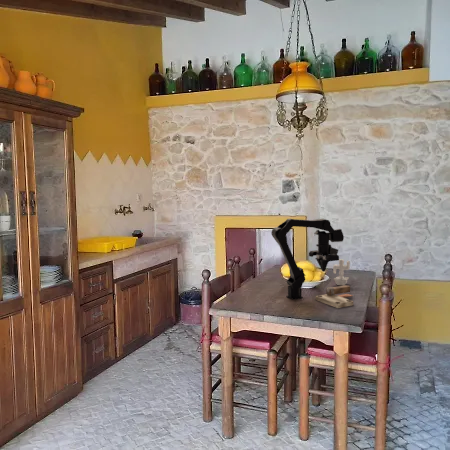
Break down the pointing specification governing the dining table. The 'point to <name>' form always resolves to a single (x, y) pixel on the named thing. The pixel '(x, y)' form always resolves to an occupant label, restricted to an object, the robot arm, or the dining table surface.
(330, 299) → the birch seat
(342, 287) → the walnut leg
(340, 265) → the figurine
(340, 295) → the marker strip
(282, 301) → the dining table surface
